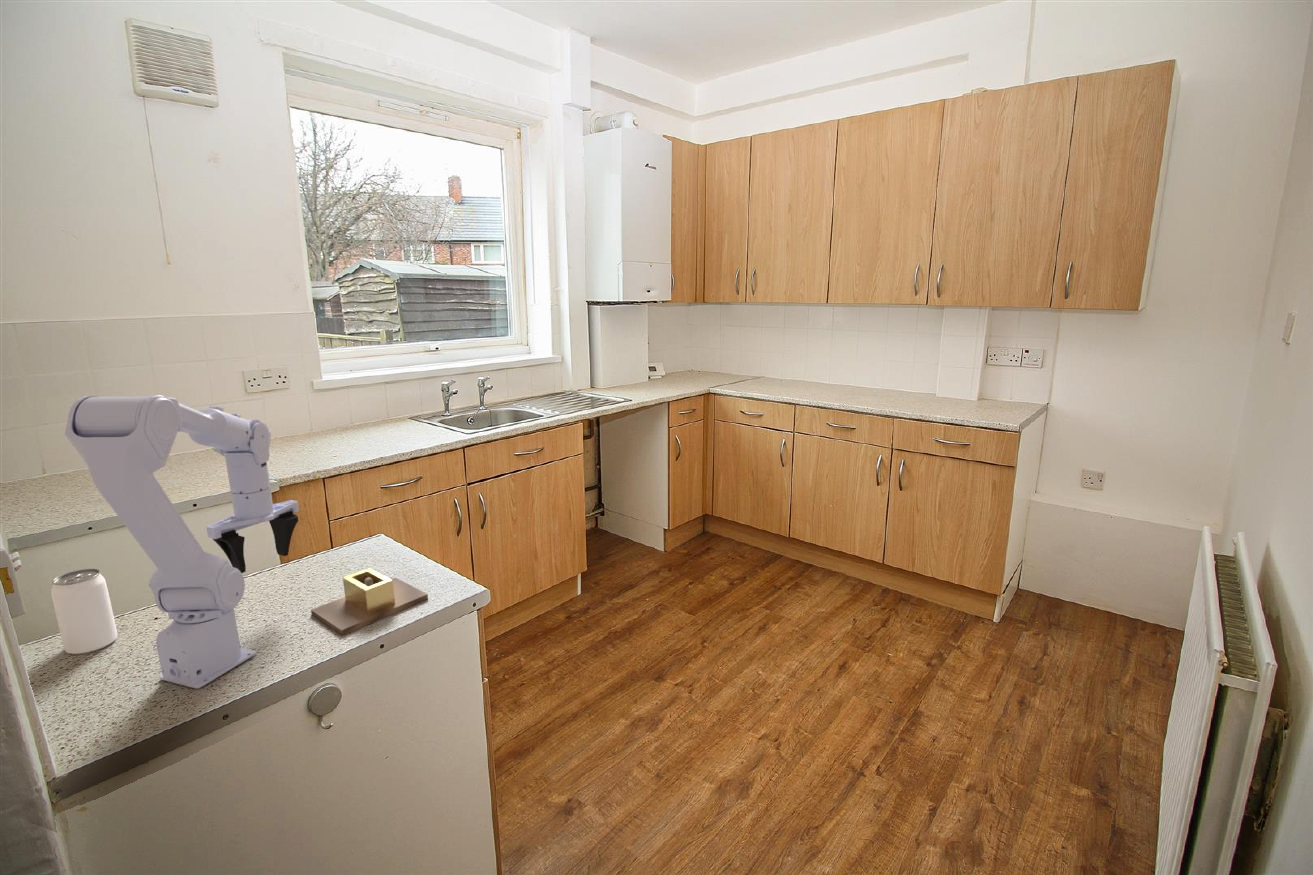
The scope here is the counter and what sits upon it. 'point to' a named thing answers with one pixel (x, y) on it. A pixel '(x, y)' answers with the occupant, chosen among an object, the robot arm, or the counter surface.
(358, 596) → the link
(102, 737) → the counter surface
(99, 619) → the can
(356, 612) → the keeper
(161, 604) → the robot arm
